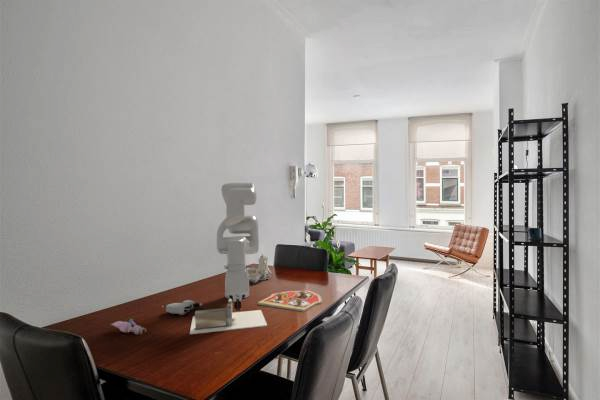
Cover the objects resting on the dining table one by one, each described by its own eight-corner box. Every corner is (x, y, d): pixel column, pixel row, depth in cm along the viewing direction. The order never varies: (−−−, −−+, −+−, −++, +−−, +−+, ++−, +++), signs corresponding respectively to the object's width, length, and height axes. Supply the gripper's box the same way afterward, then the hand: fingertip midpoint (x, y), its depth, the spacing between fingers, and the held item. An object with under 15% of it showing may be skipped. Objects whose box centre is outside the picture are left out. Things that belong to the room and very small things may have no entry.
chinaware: (243, 278, 237) (240, 253, 236) (267, 273, 242) (264, 249, 241) (250, 288, 210) (247, 260, 209) (277, 282, 215) (274, 255, 214)
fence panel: (230, 323, 145) (230, 307, 145) (227, 323, 144) (227, 307, 144) (232, 313, 157) (232, 298, 157) (229, 313, 156) (229, 298, 156)
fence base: (195, 328, 141) (195, 310, 141) (231, 325, 144) (231, 306, 144) (195, 331, 139) (195, 311, 139) (232, 327, 142) (231, 308, 142)
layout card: (192, 317, 155) (192, 316, 155) (261, 310, 162) (260, 309, 162) (189, 334, 136) (189, 333, 136) (267, 326, 143) (267, 324, 143)
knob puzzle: (254, 305, 172) (254, 296, 172) (285, 290, 198) (285, 282, 198) (308, 313, 158) (308, 303, 158) (333, 296, 185) (333, 287, 184)
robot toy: (183, 307, 173) (160, 315, 159) (183, 298, 173) (160, 304, 159) (204, 310, 168) (182, 318, 154) (204, 300, 168) (182, 307, 154)
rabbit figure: (148, 334, 141) (117, 325, 144) (150, 319, 141) (118, 311, 144) (137, 340, 135) (105, 331, 138) (139, 325, 134) (107, 316, 138)
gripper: (218, 270, 148) (219, 314, 147) (254, 268, 151) (255, 311, 151) (219, 267, 155) (220, 308, 155) (253, 265, 158) (254, 306, 158)
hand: (237, 309), depth 153 cm, fingers closed
